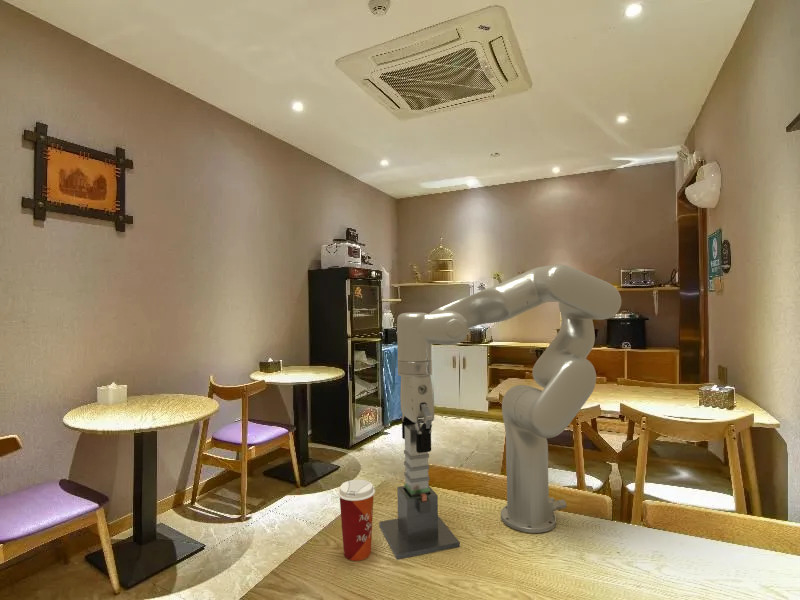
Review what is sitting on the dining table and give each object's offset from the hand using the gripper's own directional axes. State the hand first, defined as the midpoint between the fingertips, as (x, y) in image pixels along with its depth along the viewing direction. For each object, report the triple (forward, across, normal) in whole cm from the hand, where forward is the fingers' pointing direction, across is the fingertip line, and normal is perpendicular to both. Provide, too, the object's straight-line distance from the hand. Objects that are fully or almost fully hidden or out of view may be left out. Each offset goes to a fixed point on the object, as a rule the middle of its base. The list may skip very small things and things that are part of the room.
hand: (416, 444), depth 97 cm
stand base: (+20, 0, 0) cm, 20 cm away
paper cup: (+20, -2, +14) cm, 25 cm away
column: (+14, 0, 0) cm, 14 cm away
